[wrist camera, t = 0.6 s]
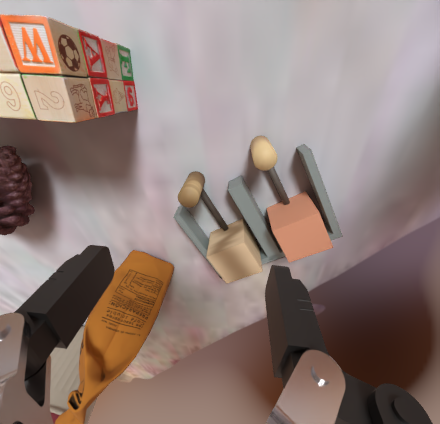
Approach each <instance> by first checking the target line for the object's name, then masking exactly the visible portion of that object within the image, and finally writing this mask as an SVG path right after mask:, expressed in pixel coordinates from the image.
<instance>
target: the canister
mask: <svg viewBox="0 0 440 424" xmlns="http://www.w3.org/2000/svg"><path fill="white" fill-rule="evenodd" d="M84 328H85V326H81V328H80V329H79V331H78V332H77V334H76V336H75V337H74V339H73V340H72V342H71V343H70V345H69V346H68V348H67V349H64V348H56V347H55V348H54V350H53V351H52V353H51V354H50V356H51V383H50V413H51V416H52V419H53V424H55V421H56V419H57V418H58V417H59V416H60V415H61V414H62V413H64V412H65V411H67V410H68V409H69V407H68V405H67V401H68V396H69V394H70V393H71V392H72V391H74V390H78V388H79V384H80V378H79V357H80V348H81V342H82V339H83V332H84ZM96 400H97V398H96V399H95V400H94V401H93V403H92V404H91V405H90V406H89V407H88V408H87V410H86V416H85V421H84V424H88V421H89V419H90V416H91V413H92V411H93V408H94V405H95V402H96Z"/></svg>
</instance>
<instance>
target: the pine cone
mask: <svg viewBox="0 0 440 424" xmlns="http://www.w3.org/2000/svg"><path fill="white" fill-rule="evenodd" d="M30 180H31V177H30V174H29V173H28V168H27V166H26V164H24V163H22V162H21V158H20V157H19V156H18V155H16V148H14V147H12V146H3V147H0V235H1V234H2V235H7V234H11V233H13V232H14V231H15V229H16V227H17V226H24V225H26V224H28V223H29V217H28V215H31V214H34V211H35V209H34V207H33V206H32V205H31V204H29V201H30V200H31V199H32V197H31V187H32V183H31V181H30Z"/></svg>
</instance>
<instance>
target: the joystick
mask: <svg viewBox="0 0 440 424" xmlns="http://www.w3.org/2000/svg"><path fill="white" fill-rule="evenodd" d="M250 148H251V153H252V157H253V162H254V165H255V166H256V167H257V168H258V169H259V170H264V171H265V170H268V172H269V174H270V177H271V179H272V181H273V183H274V185H275V187H276V189H277V191H278V193H279V195H280V197H281V199H282V202H280V203H277V204H275V205H273V206H270V207H268V208H267V212H268V216H269V220H270V224H271V228H272V232H273V234H274V235H275V237H276V239H277V241H278V243H279V245H280V246H281V248H282V250H283V252H284V254H285V256H286V257H287V259H288V261H289V262H292V261H295V260H298V259H301V258H304V257H307V256H310V255H313V254H316V253H319V252H322V251H325V250H328V249H331V248H333V245H332V243H331V240H330V238H329V235H328V233H327V230H326V228H325V225H324V223H323V220H322V218H321V215H320V213H319V211H318V210H317V208H316V207H315V205H314V203H313V202H312V200H311V199H310V197H309V196H308V194H307V193H306V191H305V192H303V193H300V194H298V195H296V196H294V197H291V198H289V199H288V197H287V195H286V192H285V190H284V188H283V186H282V184H281V182H280V179H279V177H278V175H277V173H276V171H275V169H274V166H275V164H276V162H277V154H276V152H275V150H274V149H273V147H272V145H271V143H270V142H269V140H268V139H267V138H266V137H265V136H257V137H255V138H254V139H253V140H252V142H251V145H250Z"/></svg>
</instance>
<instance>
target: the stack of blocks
mask: <svg viewBox="0 0 440 424" xmlns="http://www.w3.org/2000/svg"><path fill="white" fill-rule="evenodd" d="M137 109H138V106H137V99H136V91H135V84H134V80H133V72H132V64H131V57H130V50H129V49H128V48H126V47H124V46H121V45H119V44H116V43H111V42H109V41H106V40H103V39H100V38H99V37H98V36H96V35H93V34H91V33H88V32H86V31H83V30H80V29H76V28H74V27H71V26H69V25H67V24H64V23H62V22H60V21H57V20H55V19H52V18H50V17H47V16H37V15H4V14H3V15H0V117H1V118H17V119H32V120H35V119H38V120H40V121H55V122H70V123H75V122H81V121H85V120H90V119H94V118H100V117H106V116H110V115H114V114H117V113H121V112H129V111H133V110H137Z"/></svg>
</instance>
